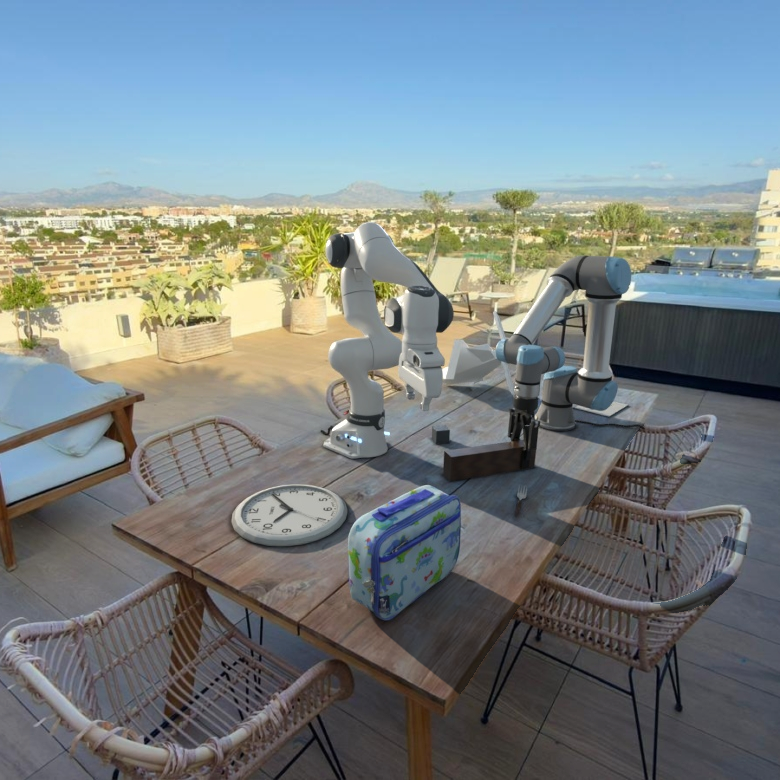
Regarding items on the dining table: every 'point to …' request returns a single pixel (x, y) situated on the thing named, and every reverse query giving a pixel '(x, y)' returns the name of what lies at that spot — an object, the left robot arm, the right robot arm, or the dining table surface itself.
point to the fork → (520, 496)
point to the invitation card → (609, 411)
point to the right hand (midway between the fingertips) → (519, 464)
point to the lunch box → (403, 549)
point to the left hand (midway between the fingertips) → (417, 404)
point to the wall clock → (289, 515)
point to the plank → (484, 460)
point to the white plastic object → (475, 362)
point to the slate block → (440, 434)
